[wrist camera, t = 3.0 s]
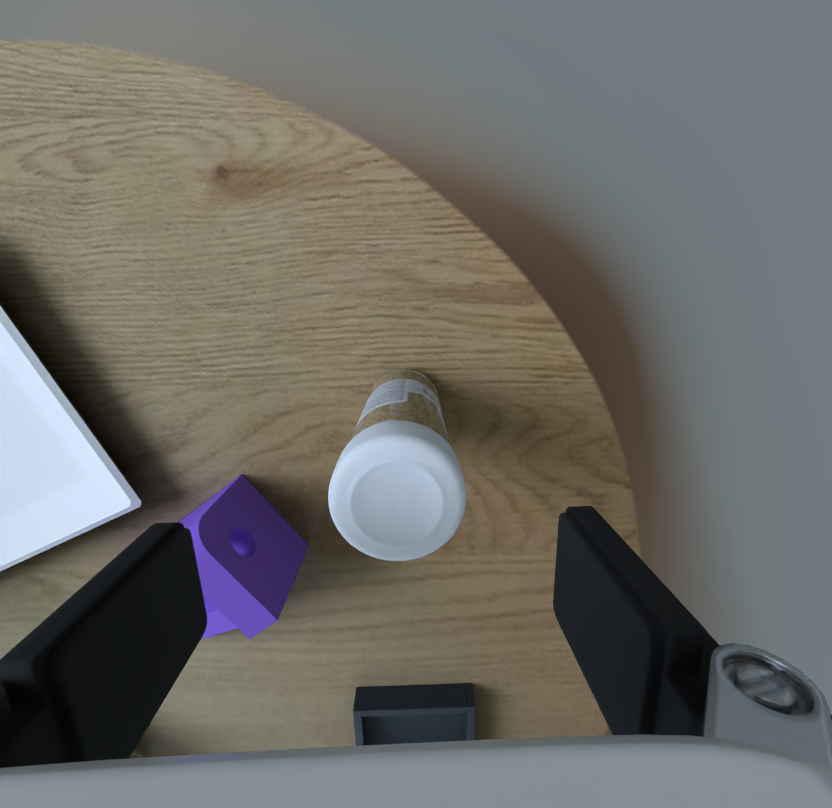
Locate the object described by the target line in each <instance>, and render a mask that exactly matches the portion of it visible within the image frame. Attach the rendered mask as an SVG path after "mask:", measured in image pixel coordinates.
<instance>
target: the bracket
mask: <svg viewBox="0 0 832 808" xmlns="http://www.w3.org/2000/svg"><path fill="white" fill-rule="evenodd" d="M178 523H182V524H183V526H184V528H188V529H189V530H190V532H191V535H192V540H193V545H194V551H195V556H196V561H197V566H198V571H199V577H200V582H201V587H202V592H203V598H204V603H205V608H206V613H207V626H206V630H205V632H204V634H203V636H202V638H201V639H204V638H207V637H210V636H214V635H217V634H220V633H224V632H227V631H230V630H234V629H237V628H238V629H239V630H240V631H242V632H243V633H244V634H245V635H246V636H247V637H248V638H249V639H250V638H252V637H253V636H255V635H256V634H258V633H259V632H261V631H262V630H264V629H265V628H267V627H268V626H270V625H271V624H273V623H274V622H276V621H277V620H278V618H279V616H280V613H281V611H282V608H283V606H284V603H285V601H286V599H287V596H288V594H289V591H290V589H291V587H292V584H293V582H294V579H295V577H296V574H297V572H298V570H299V567H300V565H301V562H302V560H303V558H304V555H305V553H306V550H307V548H308V544H307V543H306V541H305V540H304V539H303V538H302V537H301V536H300V535H299V534H298V533H297V532H296V531H295V530H294V529H293V528H292V527H291V526H290V524H289V523H288V522H287V521H286V520H285V519H284V518H283V517H282V516H281V515H280V514H279V513H278V512H277V511H276V510H275V509H274V507H273V506H272V505H271V504H270V503H269V502H268V501H267V500H266V499H265V498H264V497H263V496H262V495H261V494H260V493H259V492H258V490H257V489H256V488H255V487H254V486H253V485H252V484H251V483H250V482H249V481H248V480H247V479H246V478H245V477H244V476H243V475H242V474H241V475H240V476H239V477H237V478H236V479H235V480H233V481H232V482H231V483H229V484H228V485H227V486H226V487H224V488H223V489H222V490H220V491H219V492H218V493H216V494H215V495H214V496H212V497H211V498H210V499H208V500H207V501H206V502H204V503H203V504H202V505H200V506H199V507H198V508H196V509H195V510H194V511H192V512H191V513H190V514H188V515H187V516H186V517H184V518H183V519H182V520H180V521H179V522H178Z"/></svg>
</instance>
